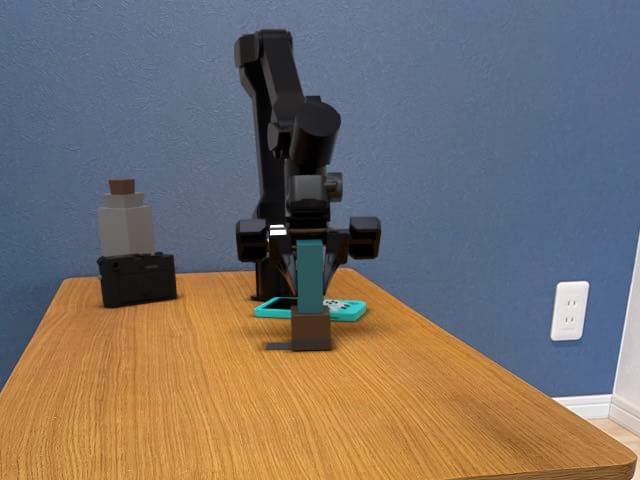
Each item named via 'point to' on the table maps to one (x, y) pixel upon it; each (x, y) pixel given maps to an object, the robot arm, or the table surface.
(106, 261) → the camera
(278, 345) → the dark grey flat tile
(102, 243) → the perfume bottle
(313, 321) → the teal post in base
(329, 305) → the handheld game console
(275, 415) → the table surface
